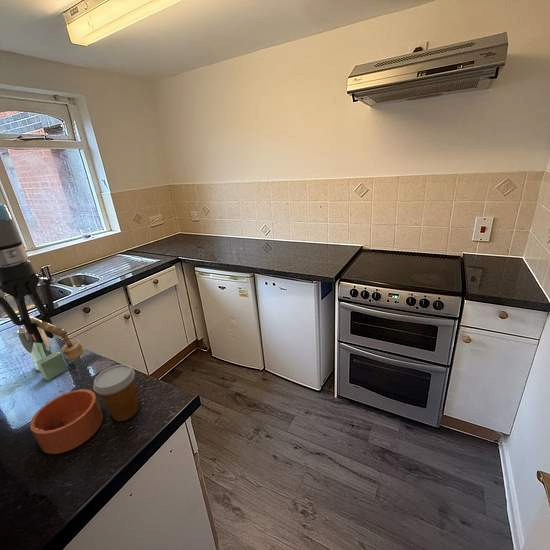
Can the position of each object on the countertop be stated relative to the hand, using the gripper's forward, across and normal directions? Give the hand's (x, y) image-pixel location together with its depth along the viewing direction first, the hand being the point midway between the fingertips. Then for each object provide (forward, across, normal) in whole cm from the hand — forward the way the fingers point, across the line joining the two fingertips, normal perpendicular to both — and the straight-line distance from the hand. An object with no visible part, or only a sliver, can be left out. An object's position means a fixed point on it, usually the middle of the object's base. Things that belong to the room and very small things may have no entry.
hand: (45, 339), depth 87 cm
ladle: (+2, +1, -4) cm, 4 cm away
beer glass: (+16, +2, +17) cm, 24 cm away
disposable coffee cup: (+16, +1, -29) cm, 33 cm away
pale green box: (+16, +1, +8) cm, 18 cm away
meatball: (+14, -10, -19) cm, 26 cm away
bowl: (+16, -8, -21) cm, 28 cm away
